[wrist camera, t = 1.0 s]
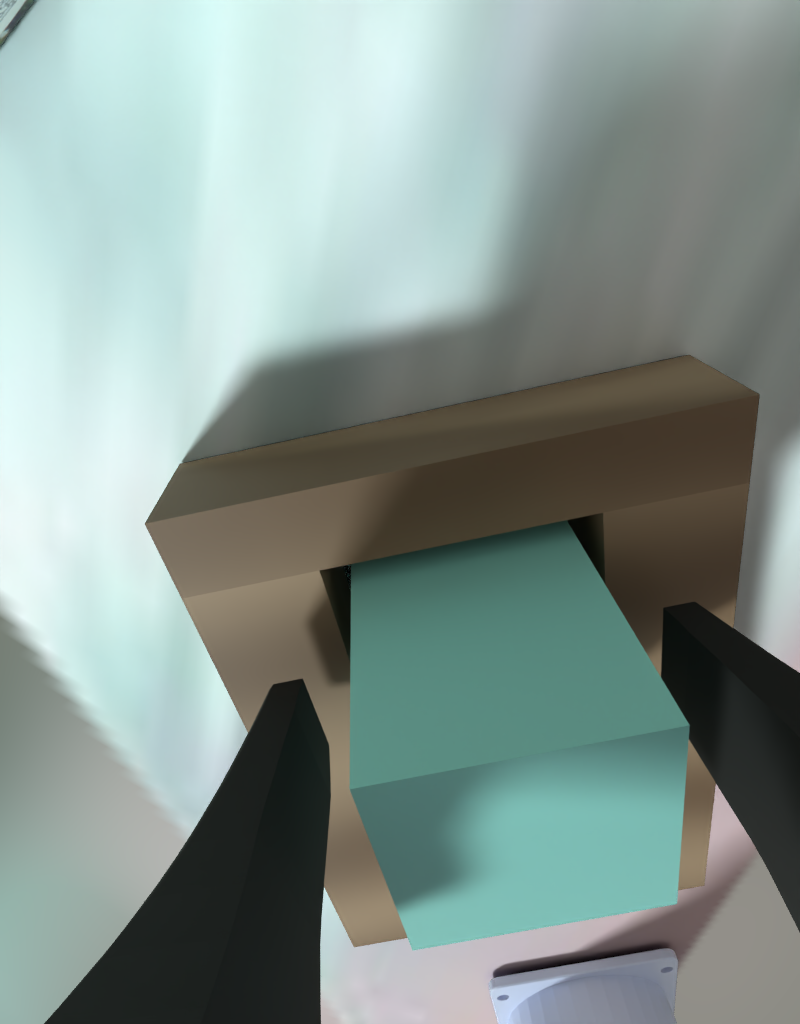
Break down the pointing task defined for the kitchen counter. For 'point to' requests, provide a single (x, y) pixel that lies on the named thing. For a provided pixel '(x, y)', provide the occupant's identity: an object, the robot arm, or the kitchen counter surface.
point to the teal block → (510, 740)
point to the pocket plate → (455, 518)
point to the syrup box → (11, 15)
